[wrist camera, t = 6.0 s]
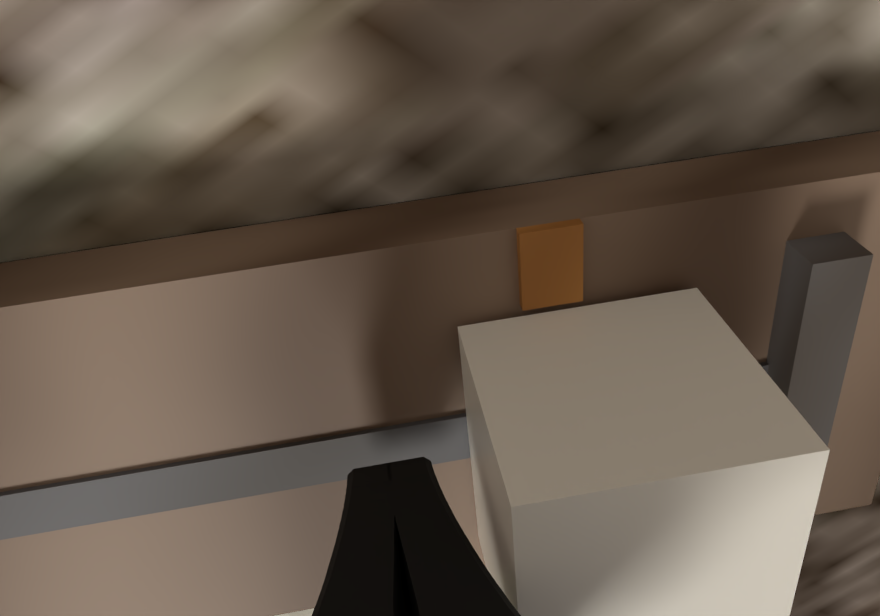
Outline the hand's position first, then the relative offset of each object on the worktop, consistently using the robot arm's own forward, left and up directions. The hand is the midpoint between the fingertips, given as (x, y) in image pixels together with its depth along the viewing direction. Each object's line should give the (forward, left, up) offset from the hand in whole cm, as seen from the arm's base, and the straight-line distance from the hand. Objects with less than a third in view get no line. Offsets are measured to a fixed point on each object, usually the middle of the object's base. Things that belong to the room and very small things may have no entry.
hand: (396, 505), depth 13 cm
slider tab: (-3, -1, -1) cm, 4 cm away
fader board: (0, 0, -3) cm, 3 cm away
